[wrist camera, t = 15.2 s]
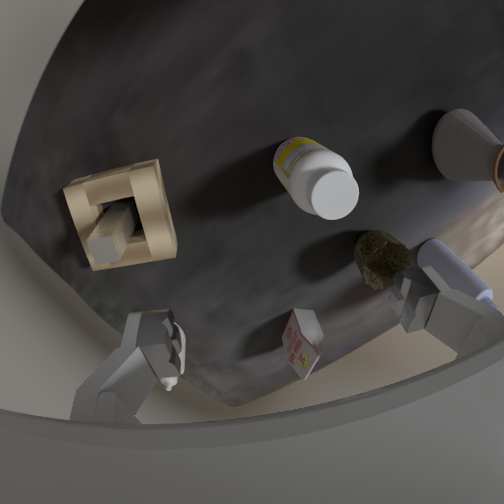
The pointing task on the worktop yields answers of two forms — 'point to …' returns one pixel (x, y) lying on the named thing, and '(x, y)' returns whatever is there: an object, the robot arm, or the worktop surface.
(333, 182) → the supplement bottle
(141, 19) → the worktop surface
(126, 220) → the metal peg
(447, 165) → the coffee pot
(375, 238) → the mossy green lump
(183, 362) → the eye dropper bottle
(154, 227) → the tan square ring
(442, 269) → the spray bottle
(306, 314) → the white and red box
